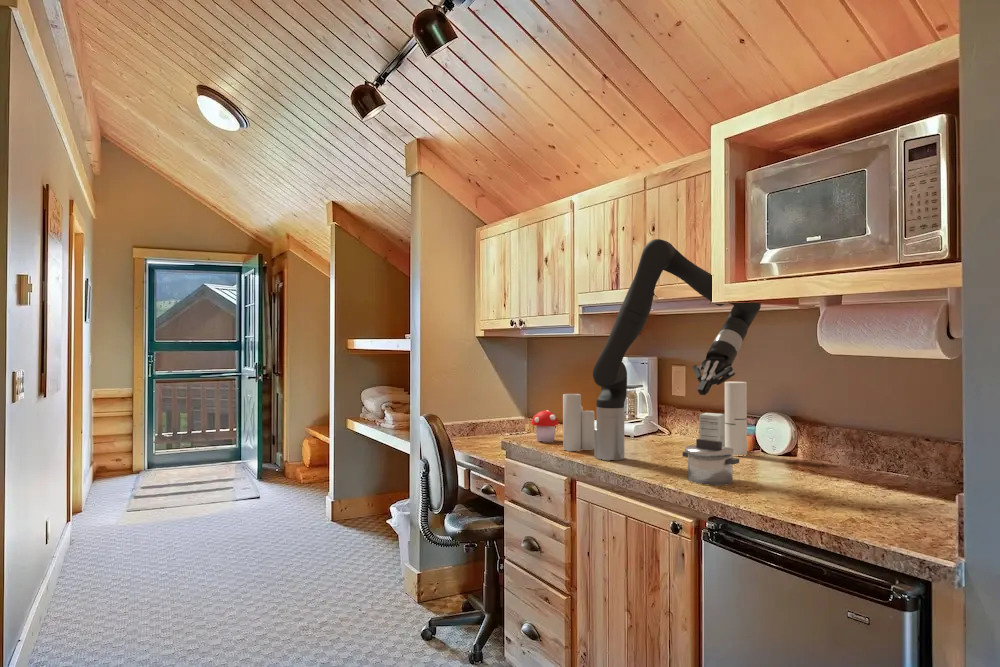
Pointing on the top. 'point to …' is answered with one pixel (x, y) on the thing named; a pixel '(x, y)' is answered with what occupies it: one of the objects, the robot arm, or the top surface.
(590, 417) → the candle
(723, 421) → the supplement box
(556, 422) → the mushroom
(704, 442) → the lid
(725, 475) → the pot
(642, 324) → the robot arm
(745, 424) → the cylindrical container
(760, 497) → the top surface
